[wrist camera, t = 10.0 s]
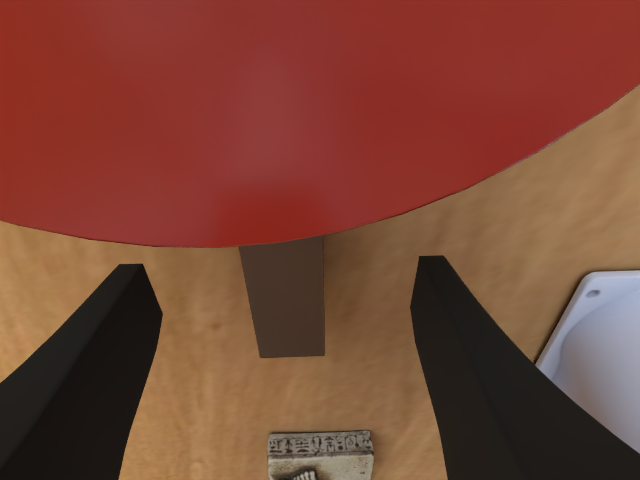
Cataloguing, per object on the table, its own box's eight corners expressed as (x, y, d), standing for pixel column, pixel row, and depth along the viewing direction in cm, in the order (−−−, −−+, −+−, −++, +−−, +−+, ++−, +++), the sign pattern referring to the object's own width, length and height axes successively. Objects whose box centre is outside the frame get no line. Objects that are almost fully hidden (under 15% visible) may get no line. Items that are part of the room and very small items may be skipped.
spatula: (355, 286, 19) (363, 355, 16) (233, 290, 19) (221, 360, 16) (387, -351, 8) (428, -445, 5) (90, -344, 8) (-15, -435, 5)
